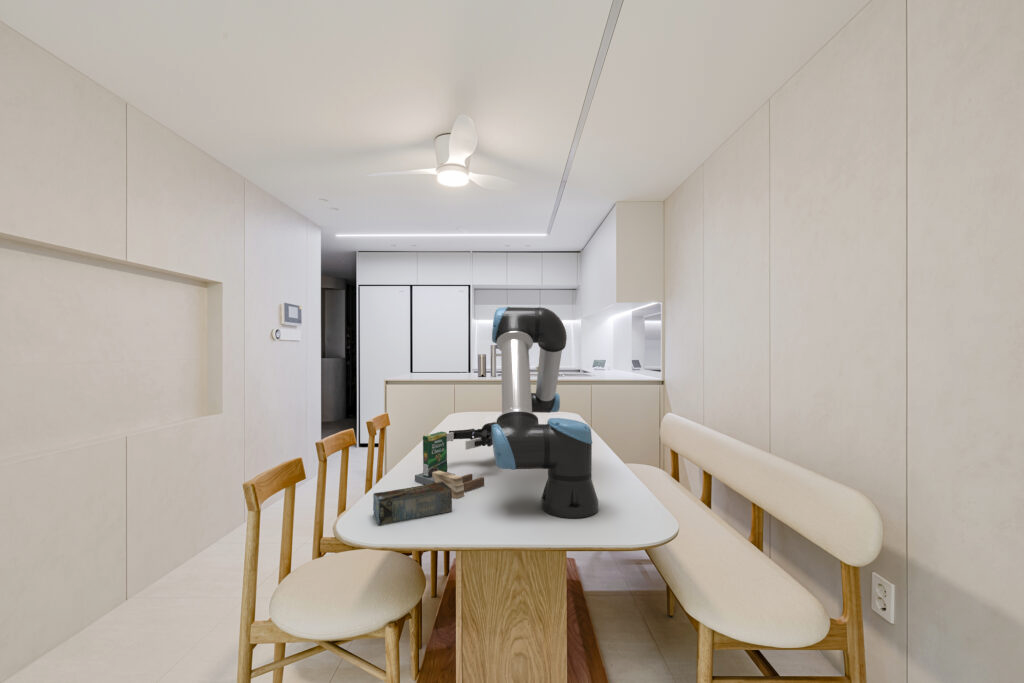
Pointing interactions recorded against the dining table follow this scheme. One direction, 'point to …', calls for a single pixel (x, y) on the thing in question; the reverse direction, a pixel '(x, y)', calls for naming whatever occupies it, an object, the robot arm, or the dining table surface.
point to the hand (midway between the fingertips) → (452, 442)
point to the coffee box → (434, 453)
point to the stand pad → (425, 479)
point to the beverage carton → (412, 503)
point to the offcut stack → (450, 482)
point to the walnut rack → (472, 482)
